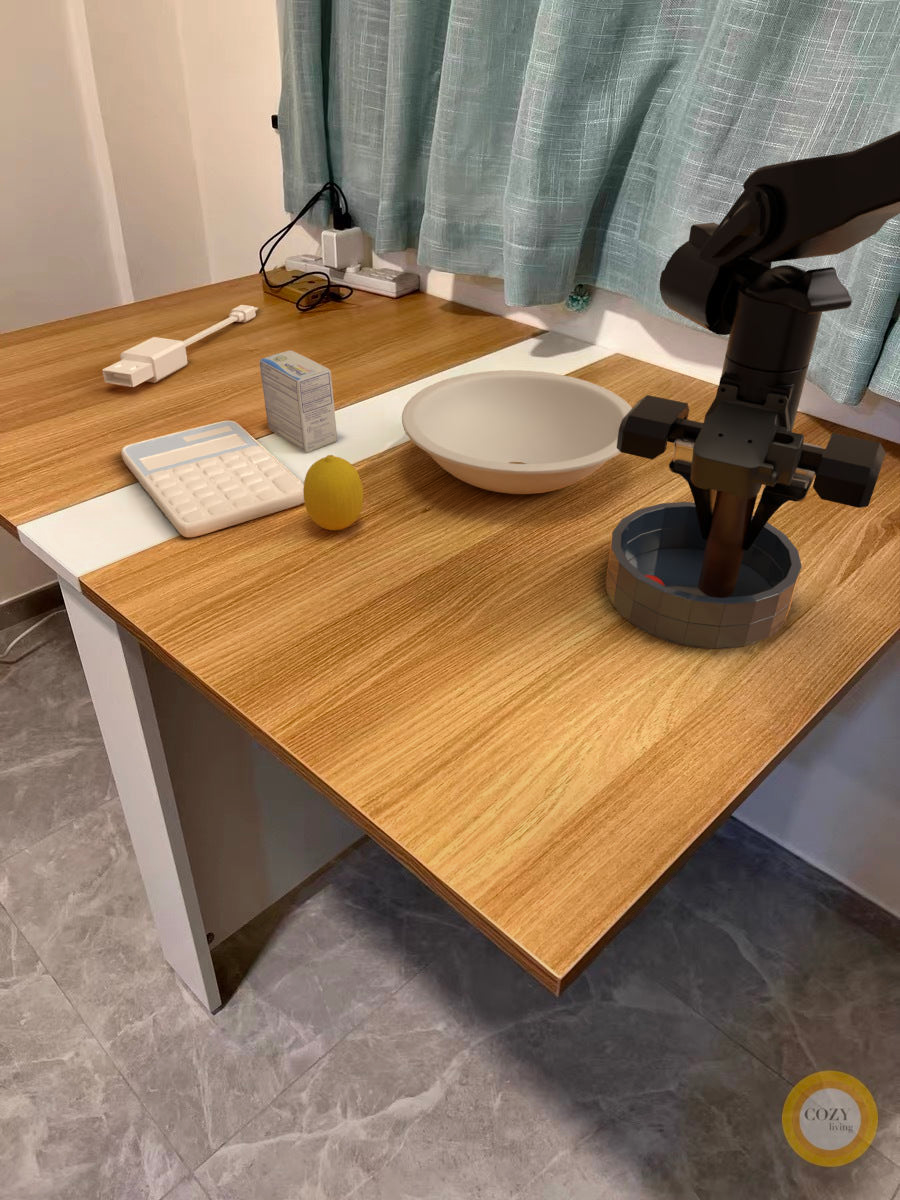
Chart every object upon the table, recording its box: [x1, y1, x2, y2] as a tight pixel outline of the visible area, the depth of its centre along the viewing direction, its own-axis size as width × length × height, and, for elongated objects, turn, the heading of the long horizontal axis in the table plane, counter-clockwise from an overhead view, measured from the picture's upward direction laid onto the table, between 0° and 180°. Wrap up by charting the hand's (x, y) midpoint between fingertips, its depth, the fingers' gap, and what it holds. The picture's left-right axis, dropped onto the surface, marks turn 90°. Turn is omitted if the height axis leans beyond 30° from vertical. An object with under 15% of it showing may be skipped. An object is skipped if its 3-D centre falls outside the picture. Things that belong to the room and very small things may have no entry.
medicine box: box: [259, 349, 338, 453], centre depth 98 cm, size 8×4×9 cm, turn 41°
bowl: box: [605, 501, 803, 650], centre depth 75 cm, size 15×15×5 cm
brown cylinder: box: [698, 490, 759, 598], centre depth 71 cm, size 3×3×11 cm
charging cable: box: [101, 304, 259, 388], centre depth 122 cm, size 5×32×3 cm, turn 160°
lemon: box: [303, 454, 365, 532], centre depth 82 cm, size 6×6×8 cm
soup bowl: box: [401, 369, 633, 495], centre depth 92 cm, size 24×24×7 cm
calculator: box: [120, 419, 305, 538], centre depth 92 cm, size 13×20×2 cm, turn 34°
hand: (725, 542), depth 72 cm, fingers closed on brown cylinder, 3 cm apart
